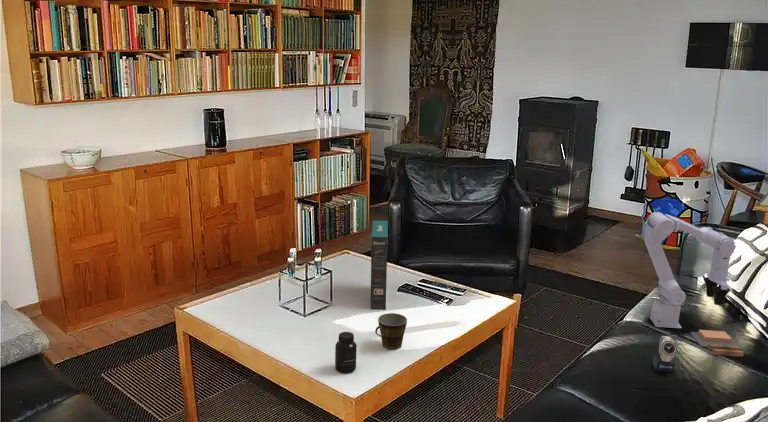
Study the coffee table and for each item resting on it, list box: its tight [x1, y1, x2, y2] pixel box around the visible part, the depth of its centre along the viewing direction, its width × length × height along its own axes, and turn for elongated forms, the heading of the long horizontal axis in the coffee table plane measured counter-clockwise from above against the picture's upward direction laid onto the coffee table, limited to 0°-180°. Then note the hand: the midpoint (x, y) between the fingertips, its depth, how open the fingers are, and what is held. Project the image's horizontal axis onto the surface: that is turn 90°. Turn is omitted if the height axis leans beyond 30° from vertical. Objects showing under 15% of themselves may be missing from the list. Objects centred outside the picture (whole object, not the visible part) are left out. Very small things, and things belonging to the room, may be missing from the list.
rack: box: [707, 344, 745, 358], centre depth 218 cm, size 10×5×2 cm, turn 83°
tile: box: [698, 329, 731, 343], centre depth 228 cm, size 9×2×6 cm
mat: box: [689, 331, 744, 351], centre depth 227 cm, size 14×11×1 cm
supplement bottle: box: [334, 331, 358, 375], centre depth 201 cm, size 7×7×12 cm
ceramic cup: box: [374, 312, 408, 351], centre depth 216 cm, size 13×10×10 cm
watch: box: [652, 335, 679, 373], centre depth 205 cm, size 6×8×11 cm
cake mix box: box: [370, 220, 389, 311], centre depth 254 cm, size 22×6×30 cm, turn 179°
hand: (713, 300), depth 237 cm, fingers open, 7 cm apart
